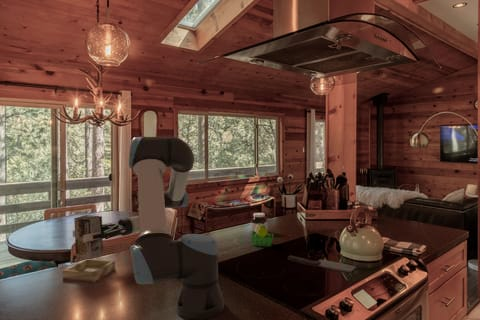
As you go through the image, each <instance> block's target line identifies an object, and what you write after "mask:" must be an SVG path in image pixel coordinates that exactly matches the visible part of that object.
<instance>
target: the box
mask: <svg viewBox="0 0 480 320" xmlns="http://www.w3.org/2000/svg"><path fill="white" fill-rule="evenodd" d="M115 270H116V260H106V259H105V260H104V259H96V258H93V259H89V258H84V259H83V260H82V261H79V262H77V263H75V264H73V265H71V266H68V267H67V268H65V269H62V280H66V281H76V282H77V281H79V282H87V283H95V282H96V281H98V280H100V279H101V278H103V277H105V276H107V275H108V274H110V273H111V272H113V271H115Z"/></svg>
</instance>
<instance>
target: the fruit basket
mask: <svg viewBox="0 0 480 320" xmlns="http://www.w3.org/2000/svg"><path fill="white" fill-rule="evenodd" d="M250 237H251V240H252V246H253V247H254V246H255V247H256V246H257V247H271V246H272V243H273V238H274V234H273V233H268V229H266V228H265V226H264V225H261V226H259V228H258V230H257V233H253V232H252V234H251V235H250Z"/></svg>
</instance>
